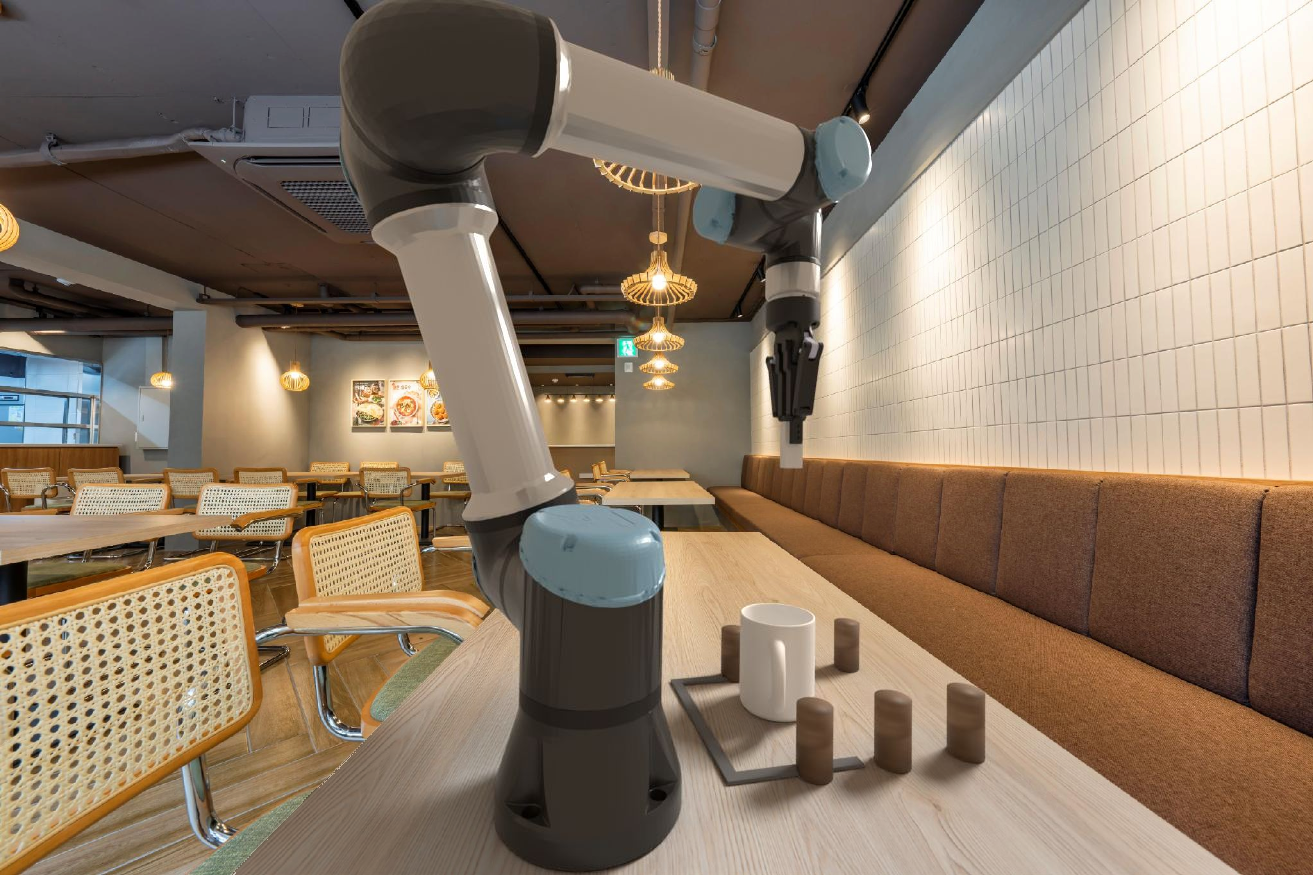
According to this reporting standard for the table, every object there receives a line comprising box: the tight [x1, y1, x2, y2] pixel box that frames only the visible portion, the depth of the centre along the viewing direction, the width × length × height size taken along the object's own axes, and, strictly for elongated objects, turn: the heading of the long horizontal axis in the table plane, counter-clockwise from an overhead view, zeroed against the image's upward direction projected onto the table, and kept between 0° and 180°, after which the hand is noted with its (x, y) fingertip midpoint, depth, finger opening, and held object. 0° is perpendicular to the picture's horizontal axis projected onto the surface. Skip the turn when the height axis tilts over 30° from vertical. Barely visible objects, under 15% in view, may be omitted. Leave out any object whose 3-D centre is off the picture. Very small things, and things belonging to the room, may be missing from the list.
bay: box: [670, 674, 866, 786], centre depth 56 cm, size 13×20×1 cm, turn 13°
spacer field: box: [720, 617, 986, 786], centre depth 58 cm, size 19×23×6 cm
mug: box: [739, 602, 816, 723], centre depth 57 cm, size 12×8×10 cm
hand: (791, 467), depth 73 cm, fingers closed
